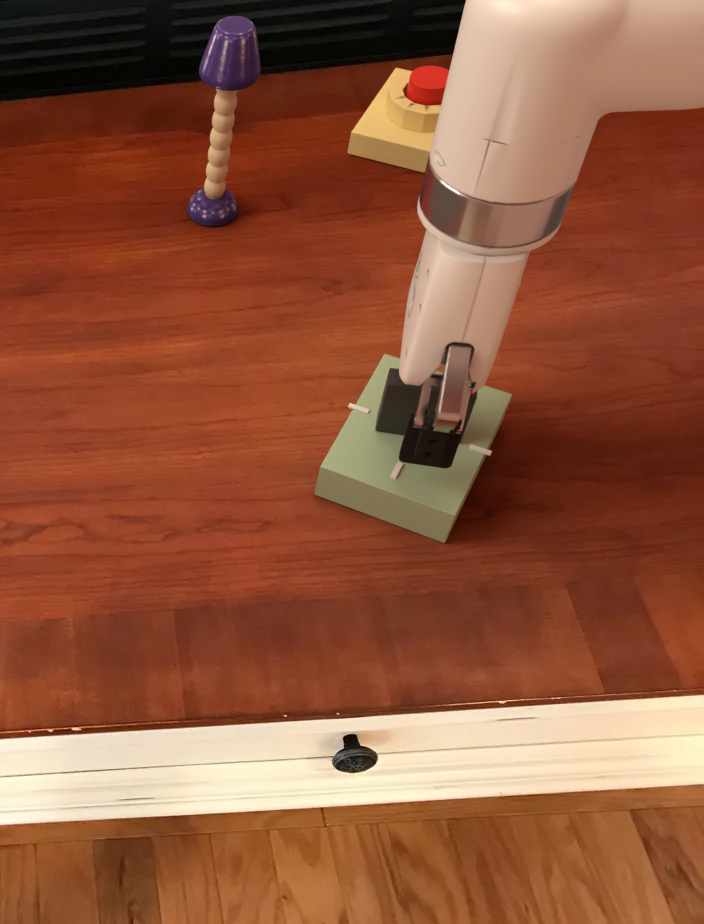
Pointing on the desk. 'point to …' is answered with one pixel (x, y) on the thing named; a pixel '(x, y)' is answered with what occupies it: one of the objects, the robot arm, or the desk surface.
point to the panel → (406, 464)
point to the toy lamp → (224, 112)
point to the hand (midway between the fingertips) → (429, 407)
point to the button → (427, 85)
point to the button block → (395, 127)
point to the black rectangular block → (406, 404)
